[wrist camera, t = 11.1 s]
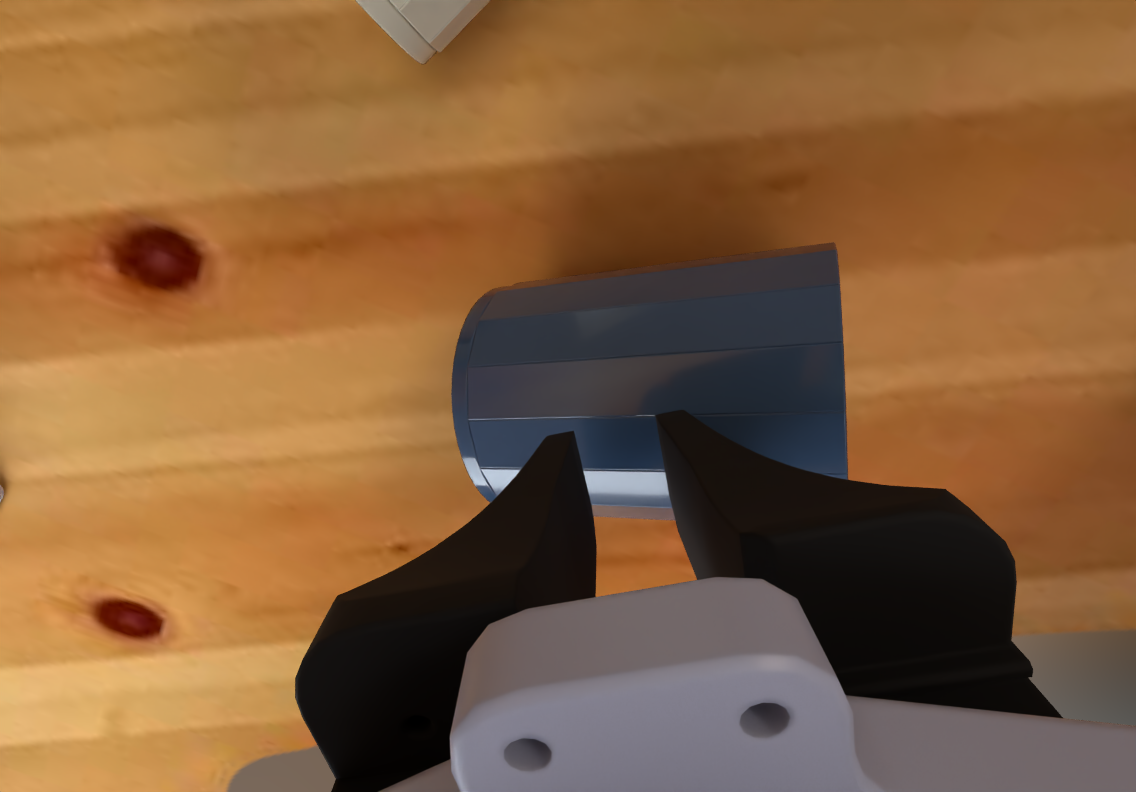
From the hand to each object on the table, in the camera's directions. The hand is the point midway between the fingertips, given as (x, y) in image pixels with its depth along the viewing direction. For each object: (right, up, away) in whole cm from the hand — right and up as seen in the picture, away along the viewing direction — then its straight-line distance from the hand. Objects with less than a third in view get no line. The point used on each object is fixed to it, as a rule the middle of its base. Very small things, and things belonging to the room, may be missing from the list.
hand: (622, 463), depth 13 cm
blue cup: (-3, +1, +5) cm, 6 cm away
